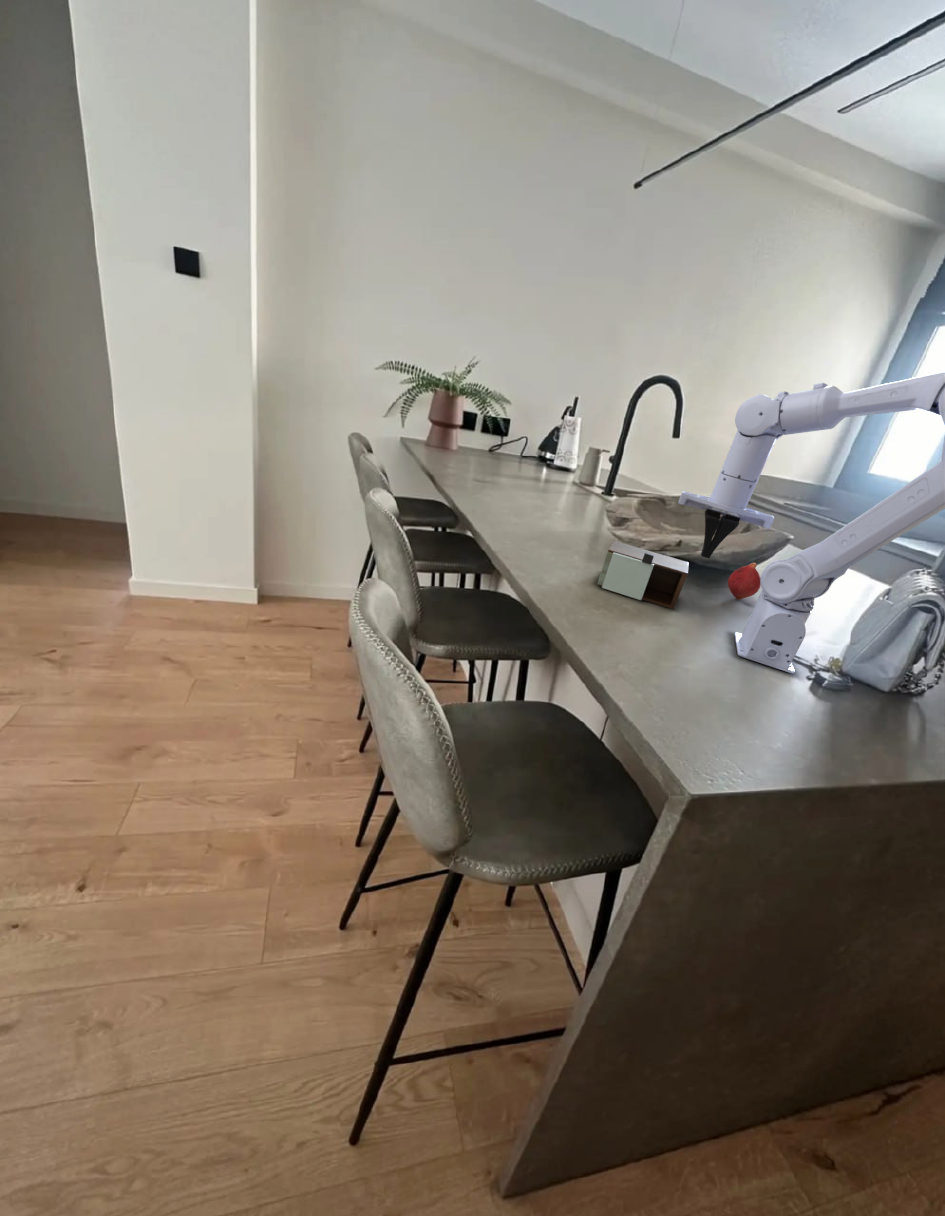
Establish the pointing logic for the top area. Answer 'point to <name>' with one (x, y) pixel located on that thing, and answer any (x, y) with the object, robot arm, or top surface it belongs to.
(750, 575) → the onion
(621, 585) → the sliding door
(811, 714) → the top surface
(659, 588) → the cabinet
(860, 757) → the top surface
